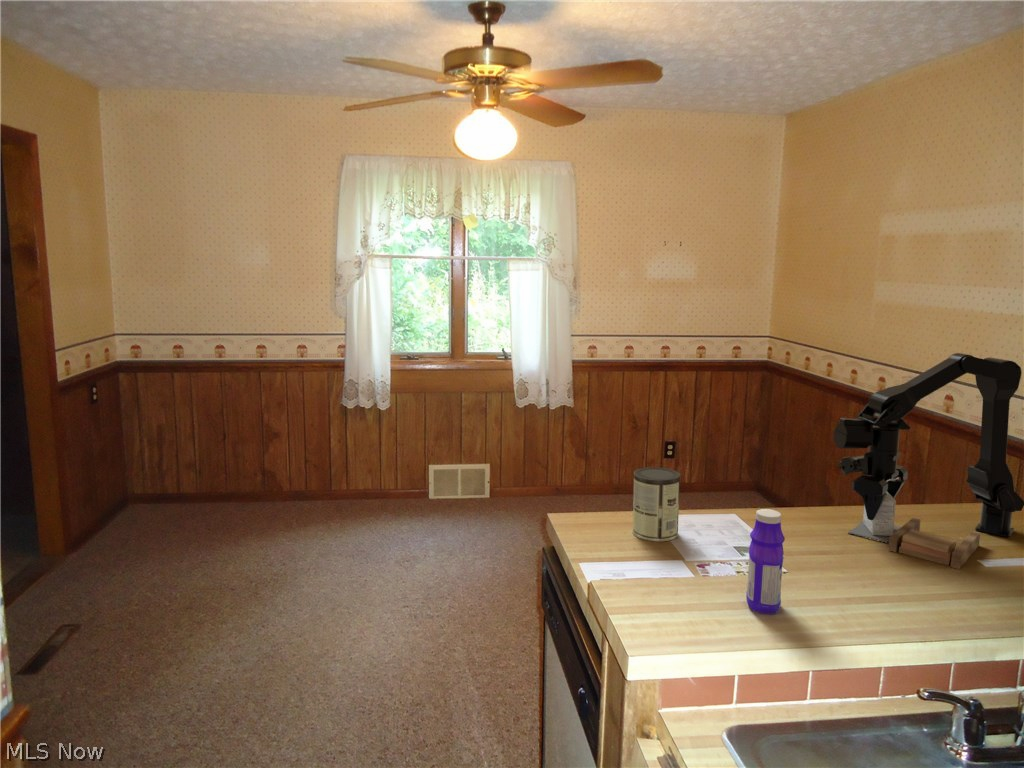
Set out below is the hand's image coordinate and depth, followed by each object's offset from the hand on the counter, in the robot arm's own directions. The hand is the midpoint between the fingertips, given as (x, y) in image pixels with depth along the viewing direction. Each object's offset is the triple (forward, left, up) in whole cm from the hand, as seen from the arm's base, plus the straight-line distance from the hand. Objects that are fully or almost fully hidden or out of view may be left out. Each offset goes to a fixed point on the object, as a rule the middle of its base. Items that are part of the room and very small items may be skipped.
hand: (877, 514), depth 155 cm
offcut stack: (+6, +12, -4) cm, 14 cm away
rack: (+1, +12, -4) cm, 13 cm away
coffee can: (+37, -35, -4) cm, 51 cm away
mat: (0, 0, -4) cm, 4 cm away
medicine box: (0, 0, -4) cm, 4 cm away
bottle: (+53, -2, -4) cm, 53 cm away
